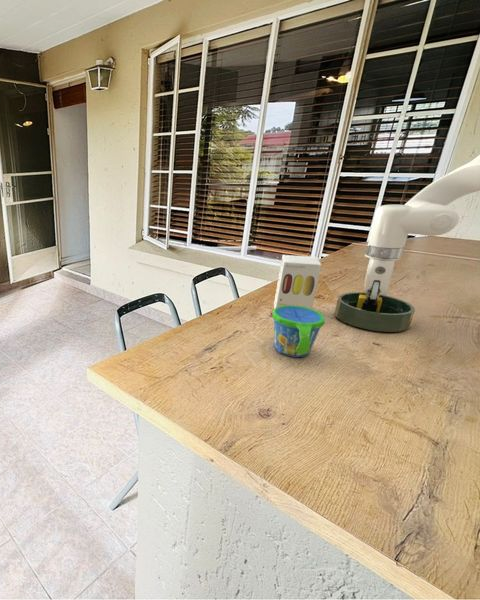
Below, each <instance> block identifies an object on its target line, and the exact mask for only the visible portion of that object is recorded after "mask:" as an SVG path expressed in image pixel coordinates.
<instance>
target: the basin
mask: <svg viewBox="0 0 480 600" xmlns="http://www.w3.org/2000/svg"><path fill="white" fill-rule="evenodd" d="M365 294H366V293H365V292H360V291H359V292H358V291H357V292H356V291H355V292H354V291H353V292H345V293H342V294H340V295H338V296H337V301H336V305H335V309H334V313H333V314H334V316H335V317H336V318H337V319H338V320H340V321H342V322H343V323H346V324H348V325H350V326H352V327H356V328H359V329H363V330H368V331H371V332H381V333H382V332H384V333H393V332H395V333H396V332H402V331H406V330H408V329H409V328H410V326H411V324H412V321H413V317H414V314H415V312H416V309H415V306H413V305H412V304H411V303H409V302H408V301H405V300H403V299H400V298H397V297H393V296H391V295H390V296H389V295H386V296H383V295H381V293H380V296H379V297H382V303H381V307H380V311H379V313H377V312H371V311H366V310H362V309H358V308H357V304H358V300H359V296H360V295H365Z"/></svg>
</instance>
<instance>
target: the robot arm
mask: <svg viewBox="0 0 480 600" xmlns="http://www.w3.org/2000/svg"><path fill="white" fill-rule="evenodd" d="M479 191H480V154H479V155H477V156H476V157H475V158H474V159H472V160H470V161H468V162H467V163H465V164H463V165H461V166H459V167H457V168H455V169H454V170H452V171H450V172H448V173H447V174H445V175H443V176H441V177H439V178H438V179H436V180H434V181H433V182H431V183H430V184H428V185H427V186H425V187H423V188H422V189H421V190H420V191H419V192H418V193H416V194H415V195H413V196H412V197H411V198H410V199H409V200H408V201H407V202H406V203H404V204H392V203H391V204H384V205H380V206H379V207H377V209H376V211H375V214H374V217H373V222H372V226H371V230H370V234H369V237H368V241H367V246H366V250H365V254H364V257H365V258H367V259H369V261H368V263H367V268H366V273H365V278H364V288H363V289H364V290H363V291H364V292H363V293H366V294H365V295H366V298H365V302H363V305H362V310H366V311H371V312H376V309H377V306H378V304H377V303H378V299H379V296H380V294H381V295H383V296H388V293H389V289H390V284H391V280H392V277H393V272H394V269H395V263H396V261H400V260H401V259H402V256H403V254H404V253H403V252H404V249H405V246H406V242H407V239H408V236H409V235H410V234H411V235H419V236H420V235H421V236H429V237H433V236H434V237H437V236H441V235H444V234H445V235H446V234H447V233H449V232H451V231H453V230H454V229H455V227H457V225H458V224H459V220H460V217H459V213H458V212H457V211H456V210H455V209H454V208H452V207H450V206H448V205H450V204H451V203H453V202H454V201H457V200H458V199H461V198H462V197H466V196H467V195H470V194H472V193H477V192H479ZM369 296H370V297H369Z"/></svg>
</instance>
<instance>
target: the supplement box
mask: <svg viewBox="0 0 480 600" xmlns="http://www.w3.org/2000/svg"><path fill="white" fill-rule="evenodd" d="M281 256H282V257H281V261H280V267H279V273H278V279H277V282H276V283H277V284H276V289H275V290H276V291H275V295H274V299H273V300H274V301H273V310H274V309H275V308H277V307H280V306H301V307H306V308H310V309H313V306H314V302H315V297H316V292H317V288H318V284H319V279H320V274H321V270H322V263H321V262H320V261H321V260H320V259H319V258H318V256H311V255H309V256H308V255H307V256H306V255H294V254H293V255H290V254H282V255H281Z"/></svg>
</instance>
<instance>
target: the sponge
mask: <svg viewBox="0 0 480 600" xmlns="http://www.w3.org/2000/svg"><path fill="white" fill-rule="evenodd" d="M369 297H370V296H369ZM365 298H366V295H360V296H359V300H358V304H357V308H358V309H362V305H363V302H365ZM381 303H382V297H379V299H378V303H377V304H378V306H377V309H376V312H377V313H379V311H380V307H381Z"/></svg>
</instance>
